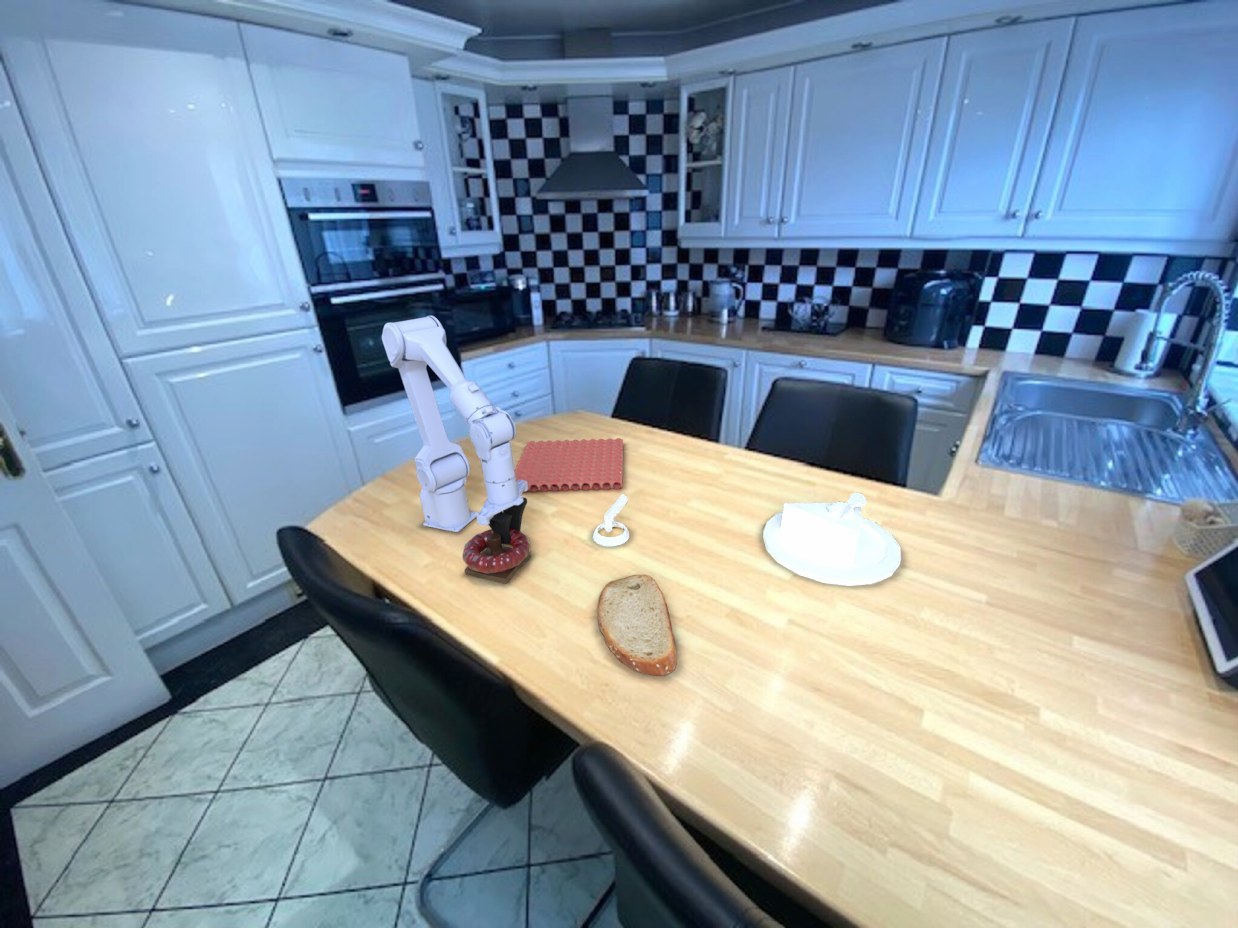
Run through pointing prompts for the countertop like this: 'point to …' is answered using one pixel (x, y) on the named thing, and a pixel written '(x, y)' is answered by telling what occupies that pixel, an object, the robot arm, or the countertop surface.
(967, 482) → the countertop surface
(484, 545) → the ring
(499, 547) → the post
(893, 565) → the dish
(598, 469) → the egg carton
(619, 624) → the bread slice
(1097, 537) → the countertop surface
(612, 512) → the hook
